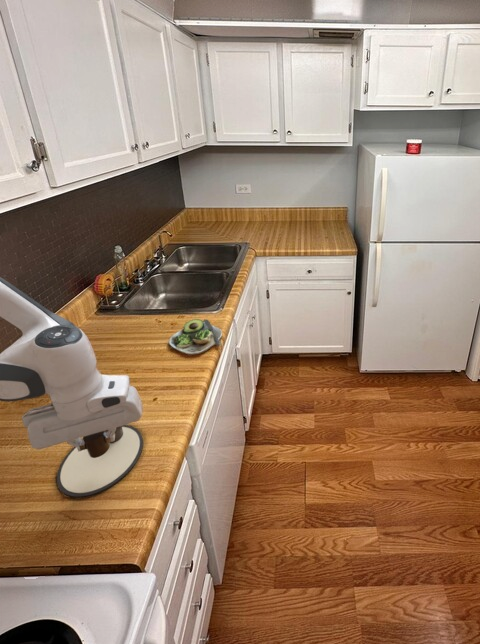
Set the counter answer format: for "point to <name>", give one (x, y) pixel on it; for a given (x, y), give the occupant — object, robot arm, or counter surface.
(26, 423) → the robot arm
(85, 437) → the eye puck
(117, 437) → the eye puck
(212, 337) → the avocado toast plate
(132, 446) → the board
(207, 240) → the counter surface
